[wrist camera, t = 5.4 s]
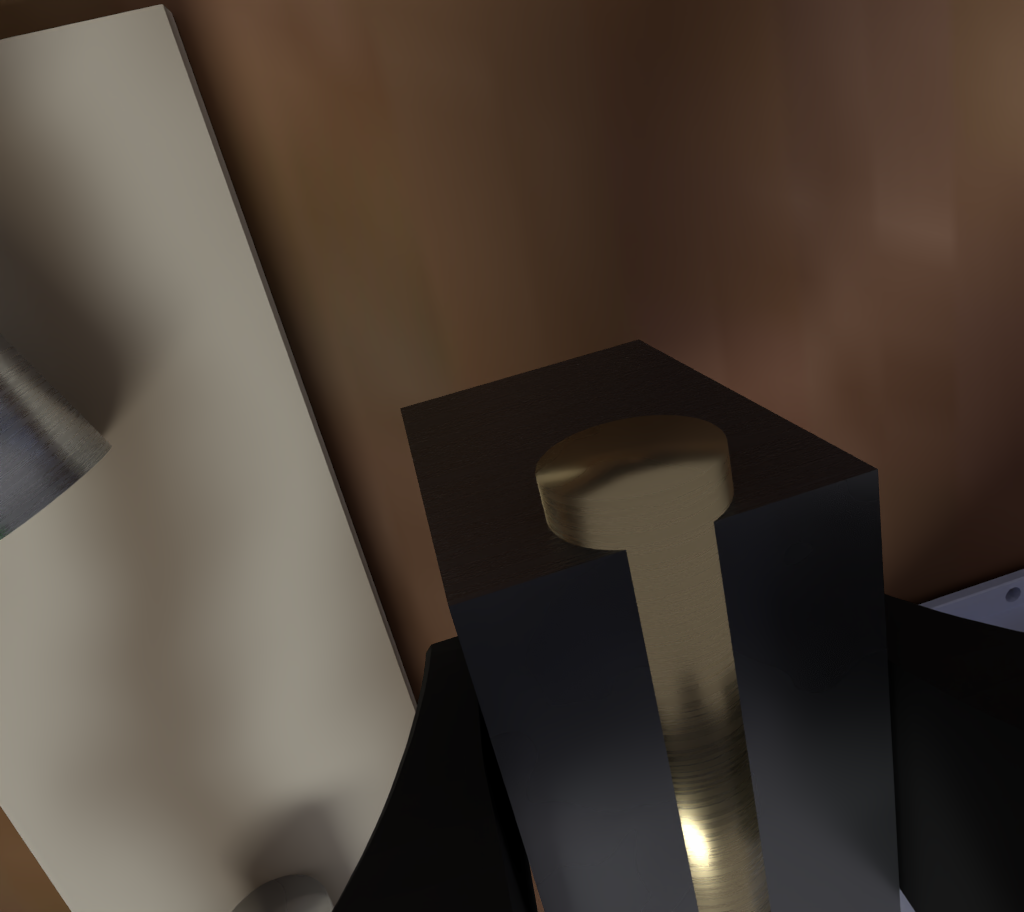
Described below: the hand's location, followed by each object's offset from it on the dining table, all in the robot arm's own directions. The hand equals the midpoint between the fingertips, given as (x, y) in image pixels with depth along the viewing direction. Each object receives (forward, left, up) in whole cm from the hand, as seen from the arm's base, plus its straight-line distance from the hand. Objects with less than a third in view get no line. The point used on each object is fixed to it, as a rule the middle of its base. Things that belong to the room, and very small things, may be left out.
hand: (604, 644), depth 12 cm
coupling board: (+9, +3, -8) cm, 12 cm away
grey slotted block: (0, 0, -2) cm, 2 cm away
